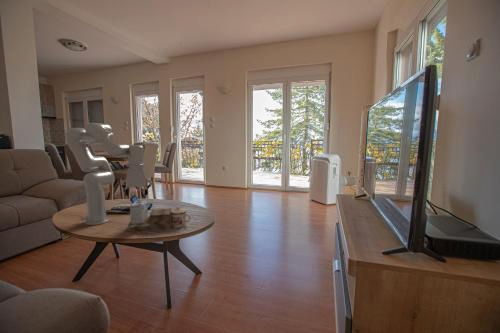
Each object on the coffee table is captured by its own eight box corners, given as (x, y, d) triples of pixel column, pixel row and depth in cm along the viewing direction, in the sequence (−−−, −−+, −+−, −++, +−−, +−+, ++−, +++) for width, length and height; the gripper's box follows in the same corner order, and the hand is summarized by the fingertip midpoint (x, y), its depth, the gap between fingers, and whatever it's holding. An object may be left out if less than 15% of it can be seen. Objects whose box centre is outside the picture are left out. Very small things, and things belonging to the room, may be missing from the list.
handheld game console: (149, 210, 174) (149, 198, 173) (130, 211, 170) (129, 199, 169) (152, 204, 189) (152, 193, 188) (134, 205, 186) (134, 194, 184)
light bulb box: (136, 217, 143) (135, 200, 142) (148, 217, 144) (147, 200, 143) (130, 224, 133) (129, 205, 131) (142, 223, 134) (142, 205, 132)
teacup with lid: (168, 227, 140) (167, 208, 139) (174, 222, 149) (174, 204, 148) (187, 228, 139) (187, 209, 137) (193, 223, 148) (192, 205, 146)
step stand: (126, 235, 127) (126, 219, 126) (133, 225, 143) (132, 210, 142) (169, 232, 133) (169, 216, 132) (171, 222, 149) (171, 208, 148)
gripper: (117, 167, 129) (118, 197, 131) (151, 167, 133) (151, 197, 135) (121, 165, 136) (122, 194, 138) (153, 166, 141) (153, 194, 143)
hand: (136, 195), depth 137 cm, fingers open, 9 cm apart
